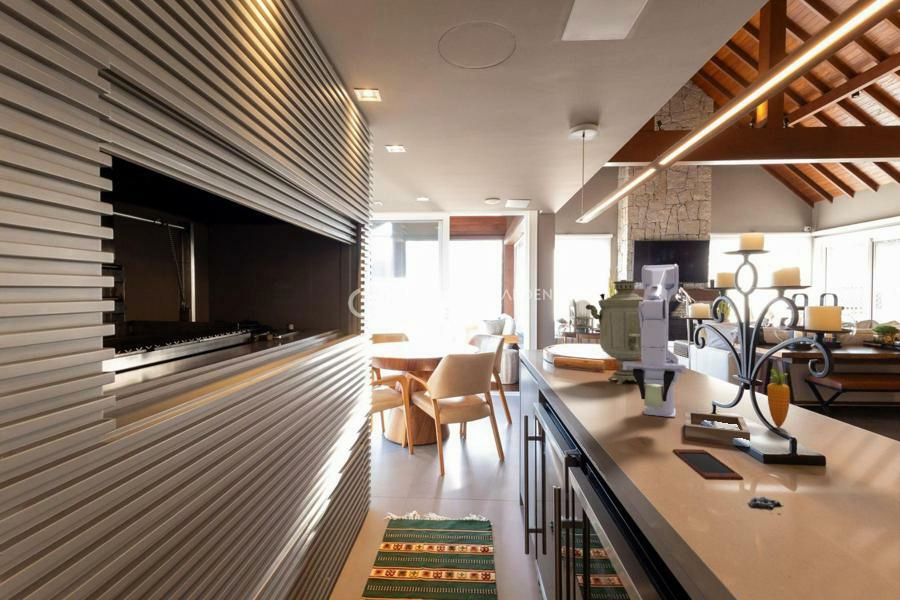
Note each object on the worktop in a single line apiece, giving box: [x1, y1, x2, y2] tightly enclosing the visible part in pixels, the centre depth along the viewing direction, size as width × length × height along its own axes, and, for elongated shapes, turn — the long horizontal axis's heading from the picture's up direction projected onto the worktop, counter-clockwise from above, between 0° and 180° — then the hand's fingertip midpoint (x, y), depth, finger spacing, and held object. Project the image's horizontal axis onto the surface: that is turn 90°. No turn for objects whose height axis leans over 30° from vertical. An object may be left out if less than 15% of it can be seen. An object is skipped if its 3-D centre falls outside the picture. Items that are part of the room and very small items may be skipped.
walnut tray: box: [684, 410, 751, 447], centre depth 109 cm, size 14×13×4 cm
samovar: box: [585, 280, 647, 386], centre depth 172 cm, size 30×26×40 cm
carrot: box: [766, 368, 791, 428], centre depth 115 cm, size 5×5×15 cm
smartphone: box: [672, 448, 744, 481], centre depth 91 cm, size 7×1×15 cm
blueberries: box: [747, 496, 784, 511], centre depth 73 cm, size 7×8×2 cm
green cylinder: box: [643, 383, 663, 407], centre depth 112 cm, size 4×4×5 cm
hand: (653, 399), depth 112 cm, fingers closed on green cylinder, 4 cm apart
